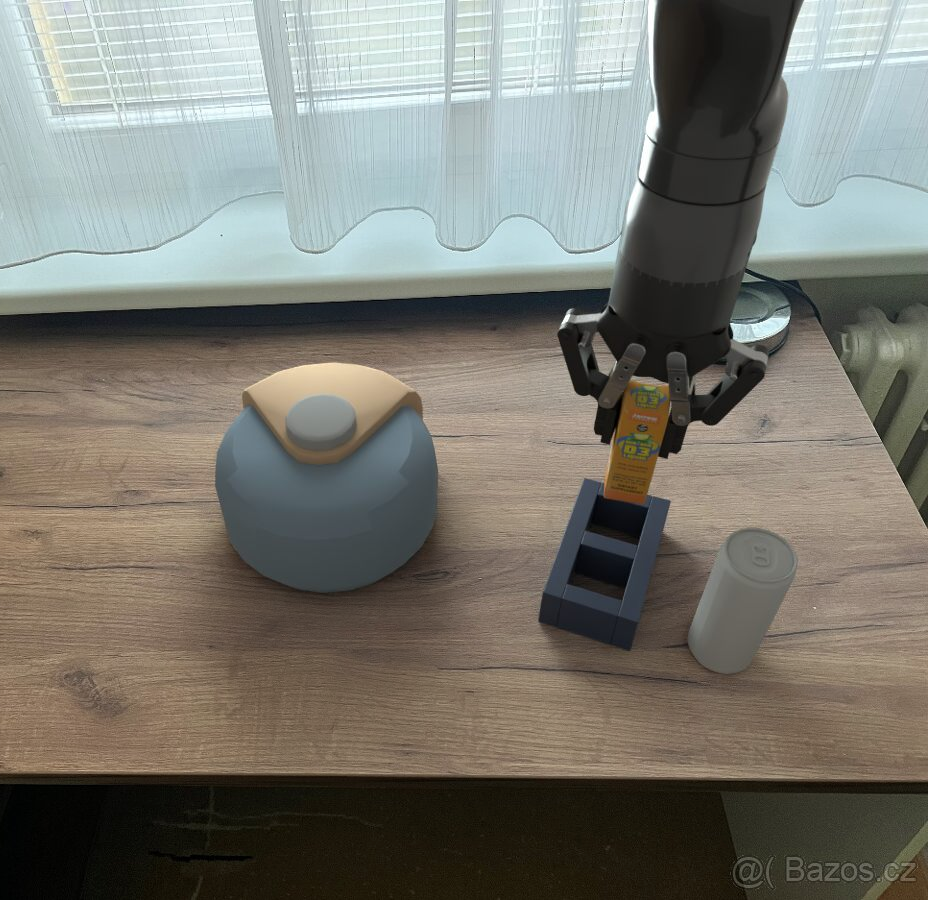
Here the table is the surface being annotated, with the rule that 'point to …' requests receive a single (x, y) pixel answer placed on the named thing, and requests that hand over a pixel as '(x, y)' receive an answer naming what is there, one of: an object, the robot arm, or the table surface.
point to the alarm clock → (328, 476)
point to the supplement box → (636, 441)
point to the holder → (604, 566)
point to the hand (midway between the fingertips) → (636, 442)
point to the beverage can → (741, 599)
